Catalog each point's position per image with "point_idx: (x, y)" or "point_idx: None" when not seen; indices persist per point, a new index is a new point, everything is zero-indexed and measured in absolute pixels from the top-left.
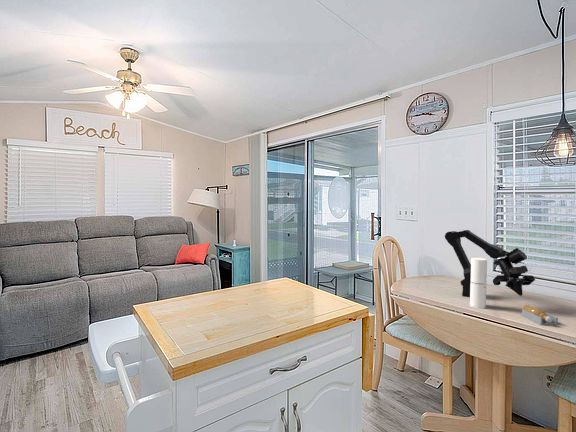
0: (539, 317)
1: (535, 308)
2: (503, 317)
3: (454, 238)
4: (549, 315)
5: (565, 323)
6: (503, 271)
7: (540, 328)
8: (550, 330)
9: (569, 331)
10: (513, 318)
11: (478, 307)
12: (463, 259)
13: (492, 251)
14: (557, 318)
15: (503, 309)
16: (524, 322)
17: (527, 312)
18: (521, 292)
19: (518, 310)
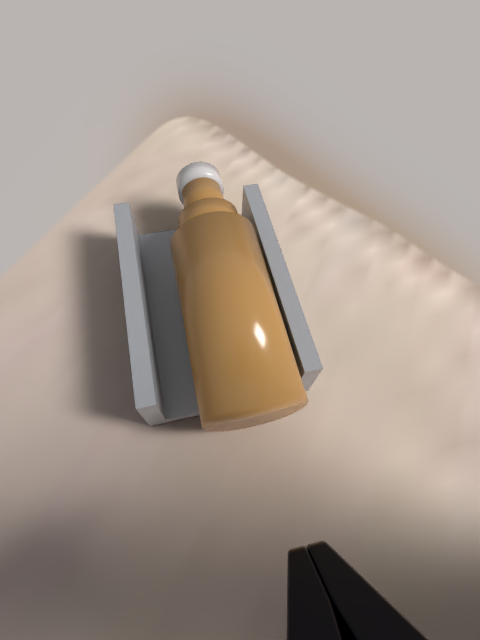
0: (260, 194)
1: (227, 283)
2: (473, 325)
3: None
4: (137, 258)
5: (42, 277)
6: None
7: (284, 175)
8: (240, 158)
9: (135, 159)
10: (399, 316)
11: None
12: None
13: None
14: (118, 209)
15: (440, 604)
16: (343, 250)
17: (298, 305)
18: (313, 587)
19: (270, 601)
